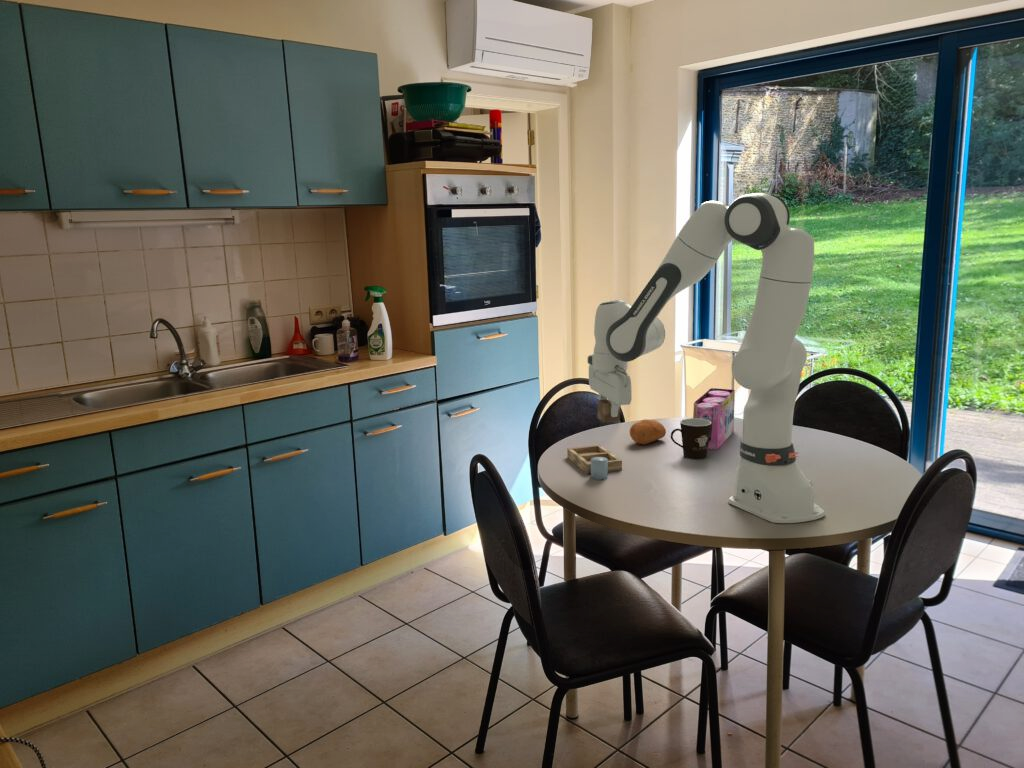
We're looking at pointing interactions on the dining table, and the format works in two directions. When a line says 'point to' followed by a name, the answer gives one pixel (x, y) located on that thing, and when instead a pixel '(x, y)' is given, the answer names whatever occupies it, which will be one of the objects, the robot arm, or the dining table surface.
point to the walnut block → (606, 411)
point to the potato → (647, 431)
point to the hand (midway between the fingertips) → (608, 413)
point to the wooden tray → (584, 455)
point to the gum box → (717, 414)
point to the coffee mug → (694, 437)
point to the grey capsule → (599, 468)
